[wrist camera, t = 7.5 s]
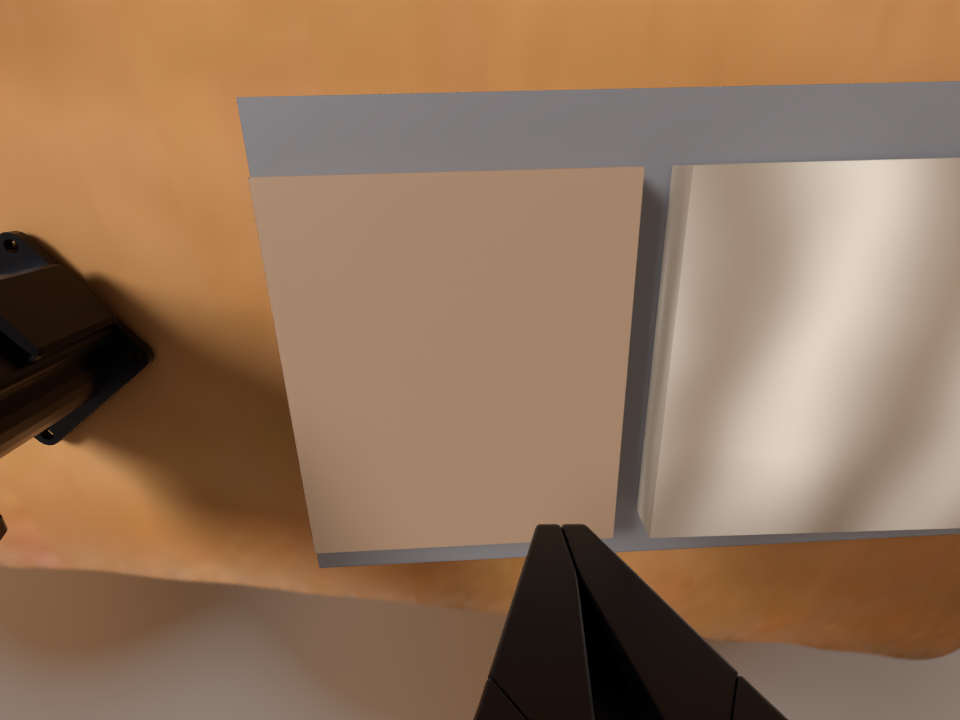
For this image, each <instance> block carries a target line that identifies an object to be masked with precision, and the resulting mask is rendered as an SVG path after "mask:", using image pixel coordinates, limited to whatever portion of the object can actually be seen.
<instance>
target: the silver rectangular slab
mask: <svg viewBox="0 0 960 720" xmlns="http://www.w3.org/2000/svg"><path fill="white" fill-rule="evenodd" d="M637 512H638V514H639V516H640V519H641V521H642V523H643V525H644V527H645V529H646V531H647V533H648V535H649V537H650V538H667V537H699V536H730V535H762V534H793V533H825V532H856V531H888V530H919V529H951V528H960V158H924V159H887V160H851V161H814V162H777V163H740V164H704V165H672V173H671V183H670V193H669V202H668V212H667V222H666V231H665V241H664V251H663V260H662V270H661V280H660V289H659V299H658V309H657V318H656V328H655V338H654V347H653V357H652V367H651V376H650V386H649V396H648V405H647V415H646V425H645V434H644V444H643V454H642V463H641V473H640V483H639V492H638V502H637Z"/></svg>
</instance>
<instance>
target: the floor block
mask: <svg viewBox="0 0 960 720" xmlns="http://www.w3.org/2000/svg"><path fill="white" fill-rule="evenodd" d="M236 98H237V104H238V109H239V115H240V121H241V126H242V132H243V138H244V143H245V149H246V155H247V160H248V166H249V172H250V177H249V178H248V180H249V185H250V191H251V197H252V202H253V208H254V213H255V219H256V225H257V230H258V236H259V241H260V247H261V253H262V258H263V264H264V269H265V275H266V281H267V286H268V292H269V297H270V303H271V309H272V314H273V320H274V325H275V331H276V337H277V342H278V348H279V353H280V359H281V365H282V370H283V376H284V381H285V387H286V393H287V398H288V404H289V409H290V415H291V421H292V426H293V432H294V437H295V443H296V449H297V454H298V460H299V465H300V471H301V477H302V482H303V488H304V493H305V499H306V505H307V510H308V516H309V521H310V527H311V533H312V538H313V544H314V550H315V554H316V553H317V556H318V562H319V567H320V568H327V567H346V566H365V565H384V564H403V563H421V562H440V561H459V560H478V559H497V558H515V557H526V556H527V553H528V550H529V546H530V543H531V540H532V537H533V534H534V531H535V528H536V526H537V525H538V524H558V525H559V526H560V527H561V526H562V525H563V524H584V525H586V526H588V527H589V528H590V529H591V530H592V531H593V532H594V533H595V534H596V535H597V536H598V537H599V538H600V539H601V540H602V541H603V542H604V543H605V544H606V545H607V546H608V547H609V548H610V549H611V550H612V551H613V552H628V551H647V550H666V549H685V548H703V547H722V546H741V545H760V544H778V543H797V542H816V541H835V540H854V539H872V538H891V537H910V536H929V535H948V534H960V528H951V529H919V530H888V531H856V532H825V533H793V534H762V535H730V536H699V537H667V538H650V537H649V535H648V533H647V531H646V529H645V527H644V525H643V523H642V521H641V519H640V516H639V514H638V512H637V502H638V492H639V483H640V473H641V463H642V454H643V444H644V434H645V425H646V415H647V405H648V396H649V386H650V376H651V367H652V357H653V347H654V338H655V328H656V318H657V309H658V299H659V289H660V280H661V270H662V260H663V251H664V241H665V231H666V222H667V212H668V202H669V193H670V183H671V173H672V165H704V164H740V163H777V162H814V161H851V160H887V159H924V158H960V81H948V82H903V83H858V84H814V85H769V86H724V87H679V88H634V89H590V90H545V91H500V92H455V93H410V94H366V95H321V96H276V97H236Z"/></svg>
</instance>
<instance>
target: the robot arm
mask: <svg viewBox="0 0 960 720" xmlns="http://www.w3.org/2000/svg"><path fill="white" fill-rule="evenodd" d="M12 241H15V242H16V243H17V244H18V247H19V250H16V249H15V248H14V246H13V243H12ZM135 352H138V353H139V354H140V355H141V356H142V360H140V359H138V358H137V357H136V356H135ZM153 360H154V353H153V351H152V349H151V348H150V347H149V346H148V345H147V344H146V343H145V342H144V341H143V340H142V339H140V338H139V337H138V336H137V335H136V334H135V333H134V332H133V331H132V330H131V329H130V328H128V327H127V326H126V325H125V324H124V323H123V322H122V321H121V320H120V319H119V318H117V317H116V316H115V314H114V312H113V311H111V310H110V309H109V308H108V307H107V306H106V305H105V304H104V303H103V302H102V301H101V300H99V299H98V298H97V297H96V296H95V295H94V294H93V293H92V292H91V291H90V290H89V289H87V288H86V287H85V286H84V285H83V284H82V283H81V282H80V281H79V280H78V279H76V278H75V277H74V276H73V275H72V274H71V273H70V272H69V271H68V270H67V269H66V268H64V267H63V266H62V265H59V264H58V263H57V262H56V261H55V260H54V259H53V258H52V257H51V256H50V255H48V254H47V253H46V252H45V251H44V250H43V249H42V248H41V247H40V246H39V245H38V244H36V243H35V242H34V241H33V240H32V239H31V238H30V237H29V236H27V235H26V234H24V233H23V232H19V231H10V232H3V233H1V234H0V458H2V457H3V456H5V455H6V454H8V453H9V452H11V451H13V450H14V449H16V448H17V447H19V446H20V445H22V444H23V443H25V442H27V441H28V440H30V439H31V438H33V437H34V438H36V439H37V440H38V441H40V442H41V443H43V444H46V445H54V444H56V443H58V442H59V441H61V440H62V439H64V438H65V437H66V436H67V435H68V434H70V433H71V432H72V431H73V430H74V429H75V428H77V427H78V426H79V425H80V424H81V423H82V422H84V421H85V420H86V419H87V418H88V417H89V416H91V415H92V414H93V413H94V412H95V411H96V410H98V409H99V408H100V407H101V406H102V405H103V404H105V403H106V402H107V401H108V400H109V399H110V398H111V397H113V396H114V395H115V394H116V393H117V392H118V391H120V390H121V389H122V388H123V387H124V386H125V385H127V384H128V383H129V382H130V381H131V380H132V379H134V378H135V377H136V376H137V375H138V374H139V373H141V372H142V371H143V370H144V369H145V368H146V367H148V366H149V365H150V364H151V363H152V362H153ZM48 430H50V431H51V432H52V433H53V435H52V434H50V433H49V431H48ZM6 531H7V526H6V524H5V522H4V520H3V517H2V515H0V540H1V539H2V537H3V536H4V534H5V533H6ZM737 677H738V672H737V671H736V670H735V669H734V668H733V667H732V666H731V665H730V664H729V663H728V662H727V661H726V660H725V659H724V658H723V657H722V656H721V655H720V654H719V653H718V652H716V650H714V648H712V647H711V646H710V645H709V644H708V643H707V642H706V641H705V640H704V639H703V638H702V637H701V636H700V635H699V634H698V633H697V632H696V631H695V630H694V629H693V628H692V627H691V626H690V625H689V624H688V623H687V622H686V621H685V620H684V619H683V618H682V617H680V616H679V615H678V614H677V613H676V612H675V611H674V610H673V609H672V608H671V607H670V606H669V605H668V604H667V603H666V602H665V601H664V600H663V599H662V598H661V597H660V596H659V595H658V594H657V593H656V592H655V591H654V590H653V589H652V588H651V587H650V586H648V585H647V584H646V583H645V582H644V581H643V580H642V579H641V578H640V577H639V576H638V575H637V574H636V573H635V572H634V571H633V570H632V569H631V568H630V567H629V566H628V565H627V564H626V563H625V562H624V561H623V560H622V559H621V558H620V557H619V556H617V555H616V554H615V553H614V552H613V551H612V550H611V549H610V548H609V547H608V546H607V545H606V544H605V543H604V542H603V541H602V540H601V539H600V538H599V537H598V536H597V535H596V534H595V533H594V532H593V531H592V530H591V529H590V528H589V527H588V526H586V525H584V524H563V525H562V526H561V527H560V526H559V525H558V524H538V525H537V526H536V528H535V531H534V534H533V537H532V540H531V543H530V546H529V550H528V553H527V556H526V559H525V562H524V565H523V568H522V572H521V575H520V578H519V581H518V584H517V587H516V590H515V594H514V597H513V600H512V603H511V606H510V609H509V612H508V616H507V619H506V622H505V625H504V628H503V631H502V634H501V638H500V641H499V644H498V647H497V650H496V653H495V656H494V660H493V663H492V666H491V669H490V673H489V675H488V680H487V681H486V684H485V687H484V690H483V693H482V696H481V699H480V702H479V705H478V708H477V711H476V714H475V717H474V719H473V720H788V719H787V718H786V717H785V716H784V715H783V714H782V713H781V712H780V711H778V710H777V709H776V708H775V707H774V706H773V705H772V704H771V703H770V702H769V701H768V700H767V699H766V698H764V697H763V696H762V695H761V694H760V693H759V692H758V691H757V690H756V689H755V688H754V687H753V686H752V685H751V684H750V683H749V682H748V681H747V680H746V679H745V678H744V677H742V676H739V677H738V678H737Z"/></svg>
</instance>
